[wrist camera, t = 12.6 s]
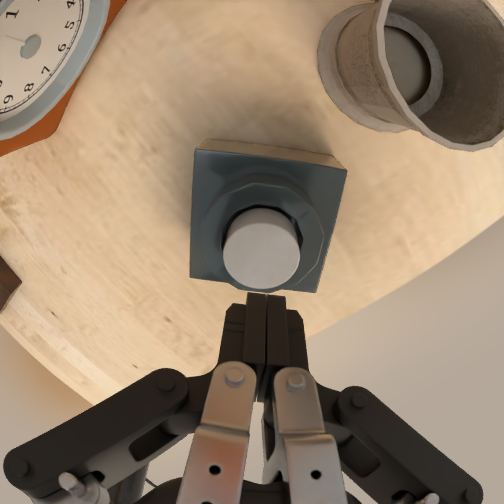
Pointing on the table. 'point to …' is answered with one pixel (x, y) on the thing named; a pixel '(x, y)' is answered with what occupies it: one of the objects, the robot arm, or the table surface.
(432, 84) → the mug
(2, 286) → the dial panel
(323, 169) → the push button base
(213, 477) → the robot arm
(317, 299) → the table surface
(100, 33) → the alarm clock
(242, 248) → the grey push button
